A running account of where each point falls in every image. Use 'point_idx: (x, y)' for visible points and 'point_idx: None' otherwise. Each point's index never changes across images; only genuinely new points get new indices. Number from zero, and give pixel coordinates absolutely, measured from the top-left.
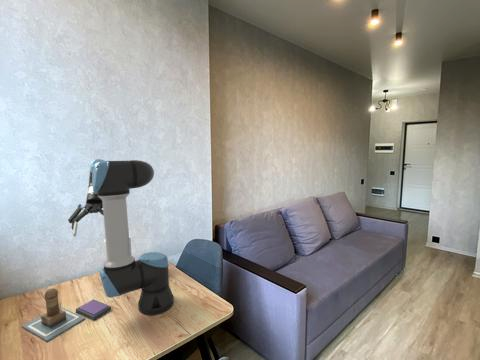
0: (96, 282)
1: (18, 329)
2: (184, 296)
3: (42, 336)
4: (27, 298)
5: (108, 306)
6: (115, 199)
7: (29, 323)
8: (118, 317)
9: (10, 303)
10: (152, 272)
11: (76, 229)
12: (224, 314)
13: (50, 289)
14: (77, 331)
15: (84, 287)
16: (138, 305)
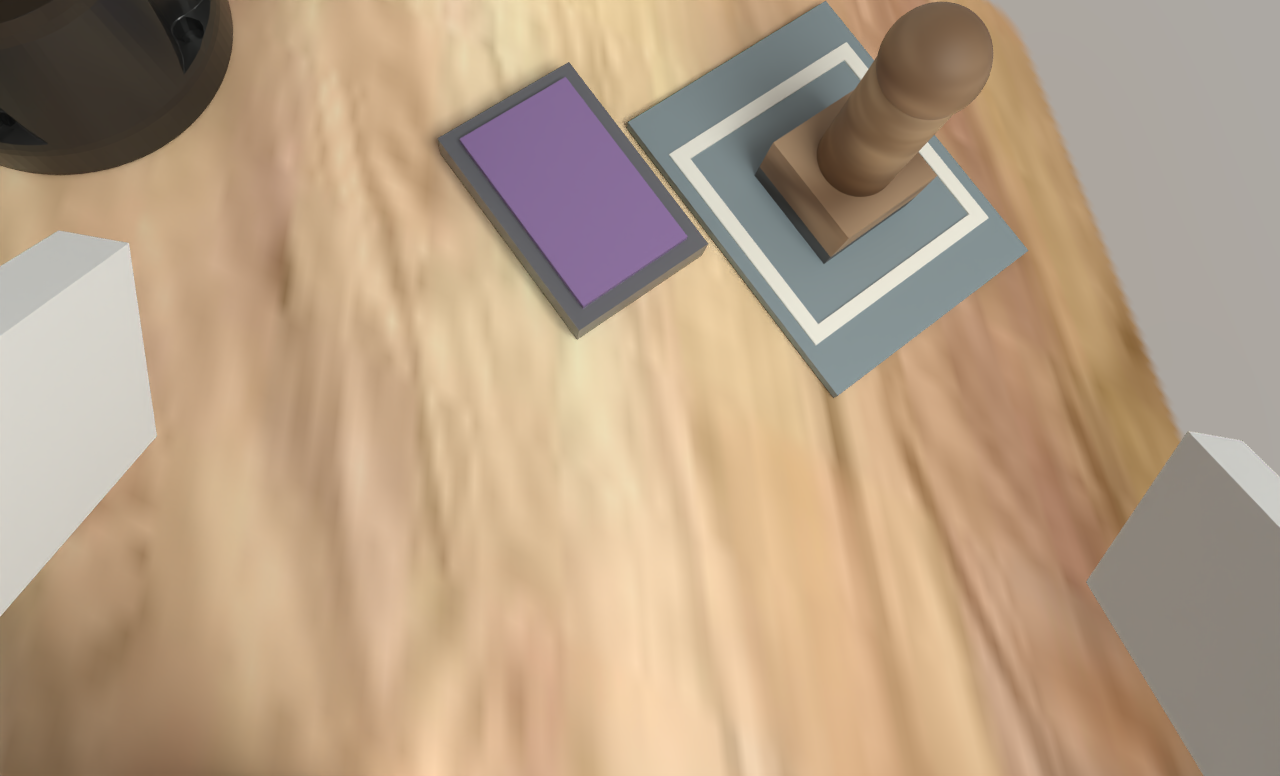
0: (565, 772)
1: (1033, 237)
2: None
3: (862, 55)
4: (1140, 716)
5: (456, 147)
6: None
7: (987, 252)
8: (395, 27)
9: None
10: None
11: (1258, 745)
12: None
13: (962, 23)
14: (662, 17)
15: (679, 702)
16: (218, 9)
